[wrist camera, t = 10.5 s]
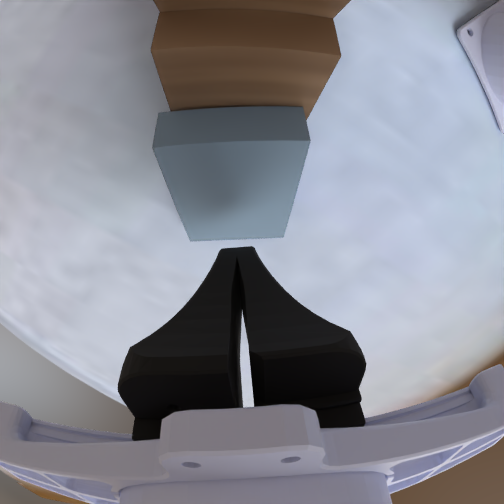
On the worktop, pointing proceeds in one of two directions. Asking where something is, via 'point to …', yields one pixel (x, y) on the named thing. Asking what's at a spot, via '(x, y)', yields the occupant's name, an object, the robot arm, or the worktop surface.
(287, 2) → the domino
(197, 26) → the domino
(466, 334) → the worktop surface
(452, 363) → the worktop surface
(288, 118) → the placed domino
